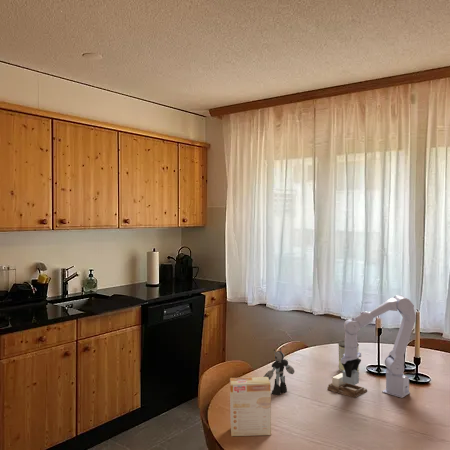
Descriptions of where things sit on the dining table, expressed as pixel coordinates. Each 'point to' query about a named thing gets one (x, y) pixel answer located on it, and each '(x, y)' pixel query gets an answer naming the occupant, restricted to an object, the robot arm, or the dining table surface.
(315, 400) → the dining table surface
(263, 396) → the coffeecake box
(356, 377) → the blue box with knob
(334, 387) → the jig
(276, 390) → the robot
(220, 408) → the dining table surface
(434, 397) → the dining table surface
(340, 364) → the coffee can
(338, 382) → the cream rectangular block
